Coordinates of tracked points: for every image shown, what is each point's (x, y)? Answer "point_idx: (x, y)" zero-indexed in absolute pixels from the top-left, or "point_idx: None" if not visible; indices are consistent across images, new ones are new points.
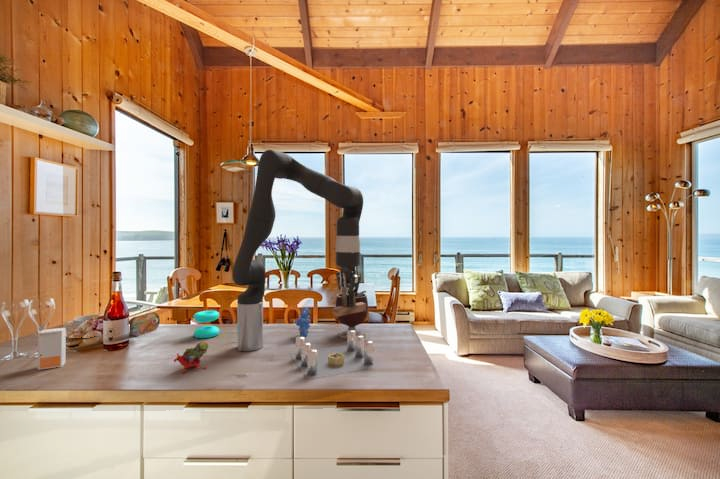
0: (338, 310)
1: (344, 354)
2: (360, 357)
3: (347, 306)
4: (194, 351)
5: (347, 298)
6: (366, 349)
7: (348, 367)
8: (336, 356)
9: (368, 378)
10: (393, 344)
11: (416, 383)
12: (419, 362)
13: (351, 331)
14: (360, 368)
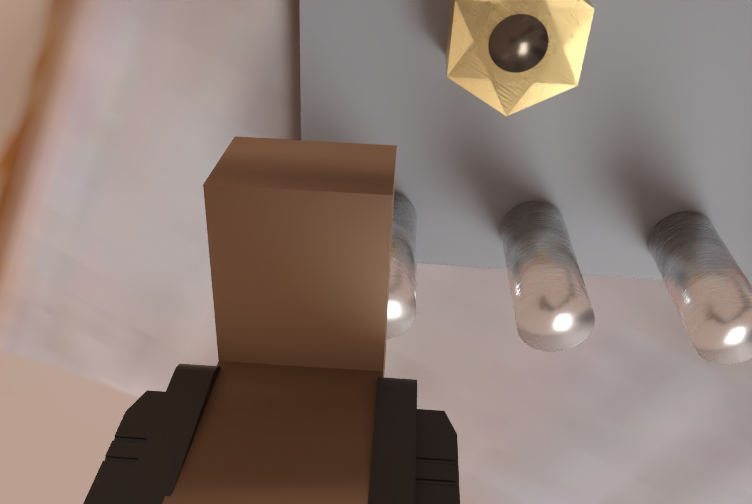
0: (213, 209)
1: (501, 112)
2: (503, 221)
3: (177, 370)
4: None
5: (132, 487)
6: None
7: (385, 67)
8: (498, 35)
9: (211, 115)
10: (616, 477)
11: (64, 291)
12: None
13: (717, 328)
14: (328, 131)
